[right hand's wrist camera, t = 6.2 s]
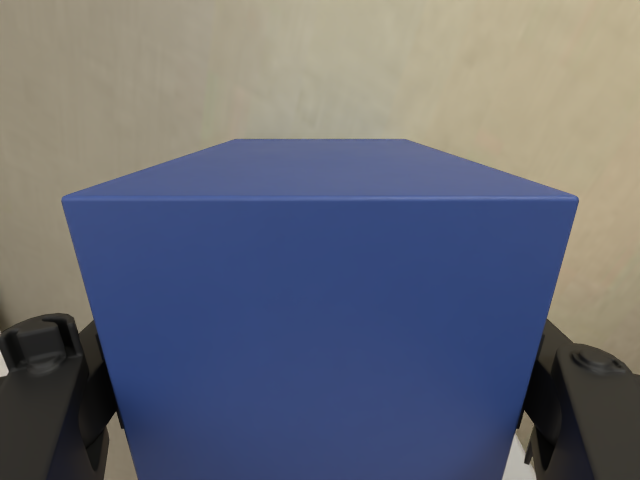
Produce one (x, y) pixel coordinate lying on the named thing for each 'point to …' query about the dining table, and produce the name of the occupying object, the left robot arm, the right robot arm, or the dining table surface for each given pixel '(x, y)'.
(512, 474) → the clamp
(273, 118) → the dining table surface
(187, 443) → the brick
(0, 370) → the skull
